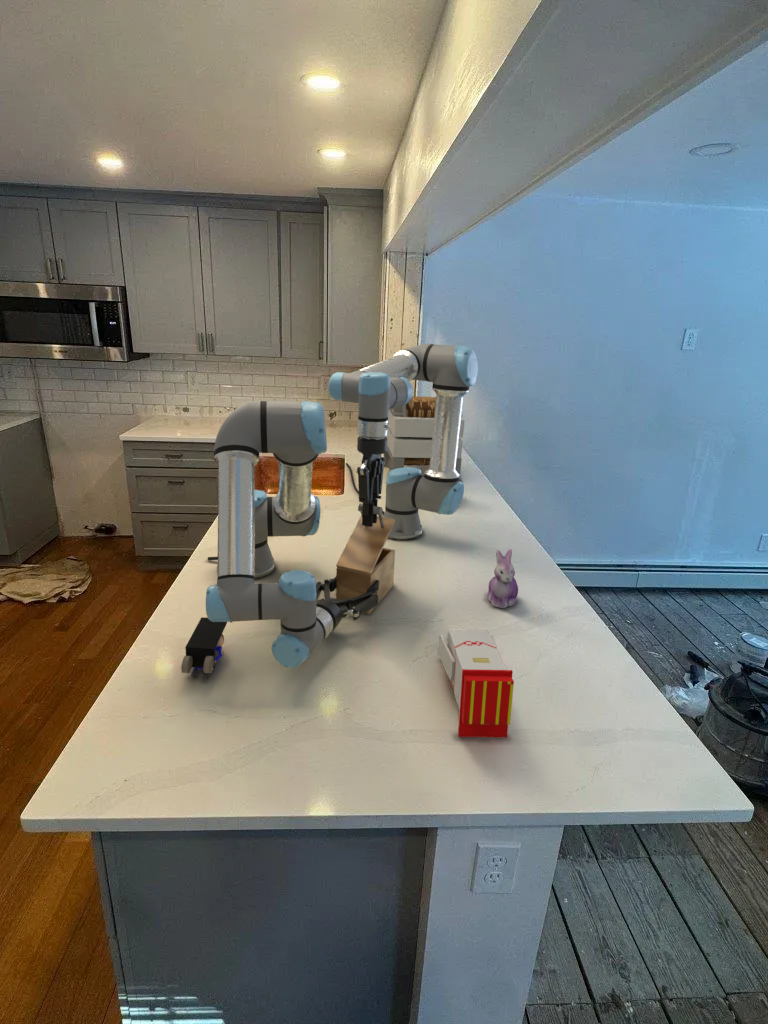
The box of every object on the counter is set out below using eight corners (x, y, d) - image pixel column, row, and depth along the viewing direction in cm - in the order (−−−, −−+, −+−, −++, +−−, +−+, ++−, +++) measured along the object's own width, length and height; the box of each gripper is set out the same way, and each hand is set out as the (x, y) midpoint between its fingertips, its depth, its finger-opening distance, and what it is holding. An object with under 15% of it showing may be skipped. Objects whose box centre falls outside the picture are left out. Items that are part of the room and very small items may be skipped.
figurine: (500, 612, 150) (506, 561, 145) (477, 595, 159) (482, 546, 153) (527, 605, 154) (535, 555, 149) (504, 589, 163) (510, 541, 158)
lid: (362, 515, 158) (357, 494, 151) (395, 521, 154) (391, 500, 148) (336, 567, 146) (329, 546, 140) (371, 575, 143) (365, 554, 137)
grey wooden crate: (382, 463, 289) (386, 382, 275) (445, 464, 293) (451, 384, 279) (390, 482, 257) (394, 392, 243) (460, 483, 261) (468, 394, 247)
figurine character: (214, 689, 118) (231, 642, 131) (211, 660, 114) (228, 615, 128) (182, 688, 118) (201, 641, 131) (177, 659, 114) (198, 614, 128)
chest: (362, 578, 165) (363, 543, 162) (393, 585, 162) (395, 550, 158) (335, 606, 150) (336, 568, 146) (369, 614, 147) (370, 575, 143)
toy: (488, 613, 130) (523, 677, 101) (484, 667, 133) (517, 744, 104) (435, 612, 130) (455, 676, 101) (432, 666, 133) (451, 743, 103)
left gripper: (278, 623, 135) (321, 585, 155) (363, 646, 128) (398, 602, 147) (277, 595, 133) (322, 559, 152) (364, 616, 125) (399, 576, 145)
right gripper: (374, 444, 134) (371, 536, 142) (397, 432, 147) (392, 517, 155) (346, 440, 136) (344, 531, 144) (370, 429, 150) (367, 512, 158)
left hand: (359, 580), depth 150 cm, fingers closed on chest, 10 cm apart
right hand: (369, 523), depth 150 cm, fingers closed on lid, 2 cm apart
